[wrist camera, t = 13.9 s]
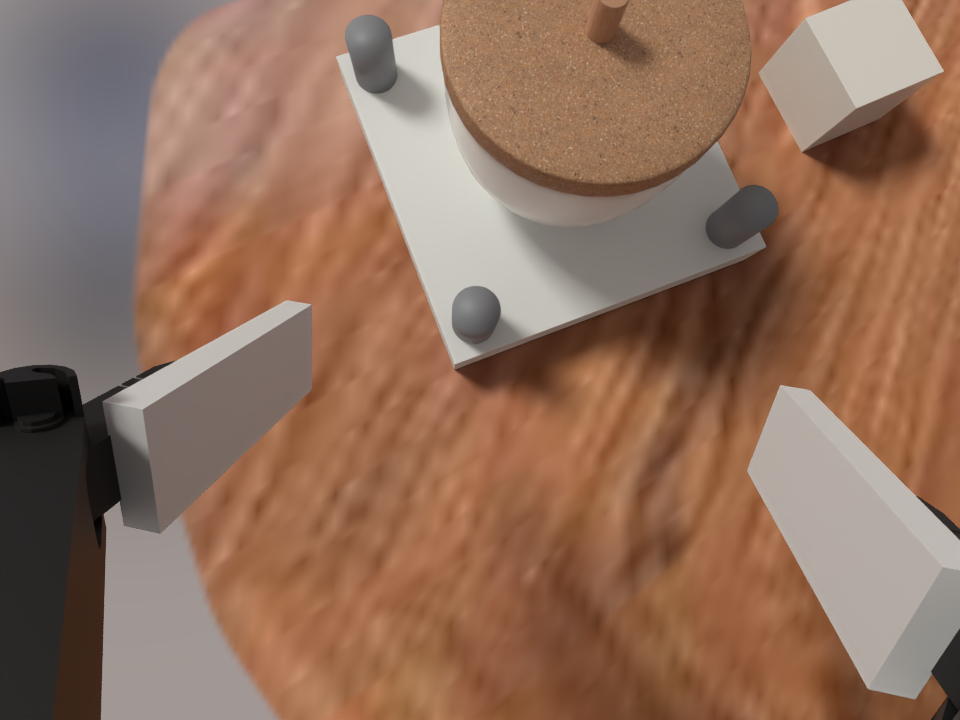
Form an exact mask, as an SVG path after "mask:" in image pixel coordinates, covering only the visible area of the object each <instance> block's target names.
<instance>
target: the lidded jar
mask: <svg viewBox="0 0 960 720" xmlns="http://www.w3.org/2000/svg"><path fill="white" fill-rule="evenodd" d="M440 59H441V65H442V71H443V76H444V88H445V98H446V104H447V109H448V115H449V120H450V124H451V128H452V132H453V135H454V137H455V140H456V143H457V146H458V148H459V151H460V153H461V155H462V158H463V159H464V161H465V163H466V165H467V167H468V168H469V170H470V172H471V174H472V175H473V176H474V178H475V179H476V180H477V181H478V183H479V184H480V185H481V186H482V188H483V189H484V190H485V191H487V192H488V193H489V194H490V195H491V196H492V197H493V198H494V199H495V200H496V201H497V202H498V203H500V204H501V205H503V206H504V207H505V208H507V209H508V210H510V211H511V212H513V213H515V214H517V215H519V216H521V217H523V218H525V219H527V220H530V221H534V222H537V223H540V224H543V225H549V226H556V227H585V226H592V225H599V224H602V223H605V222H609V221H612V220H615V219H617V218H620V217H622V216H624V215H626V214H628V213H630V212H632V211H634V210H636V209H638V208H640V207H642V206H643V205H645V204H646V203H647V202H649V201H650V200H652V199H653V198H654V197H656V196H657V195H658V194H660V193H661V192H663V191H664V190H665V189H667V188H668V187H669V186H670V185H671V184H672V183H673V182H674V181H675V180H676V179H677V178H679V177H680V176H681V175H682V173H683V172H684V171H685V170H687V169H688V168H689V167H691V166H692V165H693V164H695V163H696V162H697V161H698V160H699V159H700V158H701V157H702V156H703V155H704V154H705V153H706V152H707V151H708V150H709V149H710V148H711V147H712V146H713V145H714V144H715V143H716V142H717V141H718V140H719V139H720V138H721V136H722V135H723V134H724V132H725V131H726V129H727V128H728V126H729V125H730V124H731V122H732V121H733V119H734V118H735V116H736V114H737V112H738V109H739V107H740V105H741V103H742V100H743V98H744V96H745V92H746V88H747V84H748V80H749V76H750V65H751V43H750V33H749V27H748V23H747V18H746V14H745V10H744V6H743V4H742V2H741V0H443V5H442V11H441V17H440Z"/></svg>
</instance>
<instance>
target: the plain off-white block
mask: <svg viewBox="0 0 960 720" xmlns="http://www.w3.org/2000/svg"><path fill="white" fill-rule="evenodd" d="M942 72H944V71H943V69H942V67H941V66H940V64H939V62H938V60H937V59H936V57H935V55H934V54H933V52H932V50H931V49H930V47H929V45H928V44H927V42H926V40H925V39H924V37H923V35H922V33H921V32H920V30H919V28H918V27H917V25H916V23H915V22H914V20H913V18H912V17H911V15H910V13H909V12H908V10H907V8H906V6H905V5H904V3H903V1H902V0H850V1H848V2H845V3H843V4H840V5H838V6H835V7H833V8H830V9H828V10H825V11H823V12H820V13H817V14H815V15H812V16H810V17H807V18H805V19H804V20H803V22H802V23H801V24H800V25H799V26H798V27H797V29H796V30H795V31H794V32H793V33H792V34H791V36H790V37H789V38H788V39H787V40H786V41H785V43H784V44H783V45H782V46H781V47H780V48H779V50H778V51H777V52H776V53H775V54H774V55H773V57H772V58H771V59H770V60H769V61H768V62H767V64H766V65H765V66H764V67H763V68H762V69H761V71H760V72H759V75H760V77H761V79H762V81H763V83H764V84H765V86H766V88H767V90H768V92H769V94H770V95H771V97H772V99H773V101H774V103H775V104H776V106H777V108H778V110H779V112H780V114H781V115H782V117H783V119H784V121H785V123H786V124H787V126H788V128H789V130H790V132H791V134H792V135H793V137H794V139H795V141H796V143H797V144H798V146H799V148H800V150H801V152H803V151H806V150H808V149H810V148H813V147H815V146H817V145H820V144H822V143H824V142H827V141H829V140H831V139H834V138H836V137H838V136H841V135H843V134H845V133H848V132H850V131H852V130H855V129H857V128H859V127H862V126H864V125H866V124H869V123H871V122H873V121H876V120H878V119H880V118H881V117H882V116H884V115H885V114H887V113H888V112H889V111H891V110H892V109H893V108H895V107H896V106H897V105H899V104H900V103H902V102H903V101H904V100H906V99H907V98H908V97H910V96H911V95H912V94H914V93H915V92H917V91H918V90H919V89H921V88H922V87H923V86H925V85H926V84H927V83H929V82H930V81H932V80H933V79H934V78H936V77H937V76H938V75H940V74H941V73H942Z"/></svg>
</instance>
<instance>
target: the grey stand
mask: <svg viewBox="0 0 960 720" xmlns="http://www.w3.org/2000/svg"><path fill="white" fill-rule="evenodd" d="M345 39H346V43H347V47H348V51H349V53H346V54H343V55H340V56H336V58H337V61H338V64H339V68H340V71H341V74H342V78H343V81H344V84H345V87H346V89H347V92H348V94H349V97H350V100H351V102H352V105H353V107H354V110H355V113H356V115H357V118H358V120H359V123H360V126H361V128H362V131H363V133H364V136H365V139H366V141H367V144H368V146H369V149H370V152H371V154H372V157H373V160H374V162H375V165H376V167H377V170H378V173H379V175H380V178H381V180H382V183H383V186H384V188H385V191H386V193H387V196H388V199H389V201H390V204H391V206H392V209H393V212H394V214H395V217H396V219H397V222H398V225H399V227H400V230H401V232H402V235H403V238H404V240H405V243H406V245H407V248H408V251H409V253H410V256H411V258H412V261H413V264H414V266H415V269H416V271H417V274H418V277H419V279H420V282H421V284H422V287H423V290H424V292H425V295H426V297H427V300H428V303H429V305H430V308H431V310H432V313H433V316H434V318H435V321H436V323H437V326H438V329H439V331H440V334H441V336H442V339H443V342H444V344H445V347H446V349H447V352H448V355H449V357H450V360H451V362H452V365H453V368H454V370H455V369H458V368H460V367H463V366H465V365H468V364H471V363H473V362H476V361H479V360H481V359H484V358H487V357H489V356H492V355H495V354H497V353H500V352H502V351H505V350H508V349H510V348H513V347H516V346H518V345H521V344H524V343H526V342H529V341H532V340H534V339H537V338H540V337H542V336H545V335H547V334H550V333H553V332H555V331H558V330H561V329H563V328H566V327H569V326H571V325H574V324H577V323H579V322H582V321H584V320H587V319H590V318H592V317H595V316H598V315H600V314H603V313H606V312H608V311H611V310H614V309H616V308H619V307H621V306H624V305H627V304H629V303H632V302H635V301H637V300H640V299H643V298H645V297H648V296H651V295H653V294H656V293H658V292H661V291H664V290H666V289H669V288H672V287H674V286H677V285H680V284H682V283H685V282H688V281H690V280H693V279H695V278H698V277H701V276H703V275H706V274H709V273H711V272H714V271H717V270H719V269H722V268H725V267H727V266H730V265H732V264H735V263H738V262H740V261H743V260H745V259H747V258H748V257H750V256H752V255H753V254H755V253H757V252H759V251H760V250H762V249H764V248H765V247H766V245H765V242H764V240H763V238H762V236H761V234H760V231H762V230H764V229H765V228H767V227H768V226H770V225H771V224H772V223H773V222H774V221H775V219H776V217H777V215H778V203H777V201H776V198H775V197H774V195H773V194H772V193H771V192H770V191H769V190H768V189H766V188H764V187H762V186H758V185H749V186H746V187H744V188H742V189H741V190H740V189H739V187H738V184H737V182H736V180H735V178H734V176H733V174H732V171H731V169H730V167H729V165H728V163H727V161H726V159H725V156H724V154H723V152H722V150H721V148H720V146H719V144H718V141H717V142H716V143H715V144H714V145H713V146H712V147H711V148H710V149H709V150H708V151H707V152H706V153H705V154H704V155H703V156H702V157H701V158H700V159H699V160H698V161H697V162H696V163H695V164H693V165H692V166H691V167H689V168H688V169H687V170H685V171H684V172H683V173H682V175H681V176H680V177H679V178H677V179H676V180H675V181H674V182H673V183H672V184H671V185H670V186H669V187H668V188H667V189H665V190H664V191H663V192H661V193H660V194H658V195H657V196H656V197H654V198H653V199H652V200H650V201H649V202H647V203H646V204H645V205H643V206H642V207H640V208H638V209H636V210H634V211H632V212H630V213H628V214H626V215H624V216H622V217H620V218H617V219H615V220H612V221H609V222H605V223H602V224H599V225H592V226H585V227H556V226H549V225H543V224H540V223H537V222H534V221H530V220H527V219H525V218H523V217H521V216H519V215H517V214H515V213H513V212H511V211H510V210H508V209H507V208H505V207H504V206H503V205H501V204H500V203H498V202H497V201H496V200H495V199H494V198H493V197H492V196H491V195H490V194H489V193H488V192H487V191H485V190H484V189H483V188H482V186H481V185H480V184H479V183H478V181H477V180H476V179H475V178H474V176H473V175H472V174H471V172H470V170H469V168H468V167H467V165H466V163H465V161H464V159H463V158H462V155H461V153H460V151H459V148H458V146H457V143H456V140H455V137H454V135H453V132H452V128H451V124H450V120H449V115H448V109H447V104H446V98H445V88H444V76H443V71H442V65H441V59H440V25H437V26H434V27H431V28H428V29H424V30H421V31H418V32H415V33H411V34H408V35H405V36H402V37H398V38H395V39H392V34H391V30H390V28H389V26H388V24H387V23H386V22H385V21H384V20H382V19H381V18H379V17H377V16H373V15H363V16H359V17H357V18H355V19H354V20H352V21H351V22H350V23H349V25H348V26H347V28H346V32H345Z"/></svg>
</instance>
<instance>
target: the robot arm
mask: <svg viewBox="0 0 960 720" xmlns="http://www.w3.org/2000/svg"><path fill="white" fill-rule="evenodd" d="M311 390H312V305H311V304H305V303H299V302H293V301H288V300H286V301H284V302H283V303H281V304H279V305H277V306H275V307H274V308H272V309H270V310H268V311H266V312H264V313H263V314H261V315H259V316H257V317H255V318H254V319H252V320H250V321H248V322H246V323H244V324H243V325H241V326H239V327H237V328H235V329H233V330H232V331H230V332H228V333H226V334H224V335H223V336H221V337H219V338H217V339H215V340H213V341H212V342H210V343H208V344H206V345H204V346H203V347H201V348H199V349H197V350H195V351H193V352H192V353H190V354H188V355H186V356H184V357H182V358H181V359H179V360H176V361H172V362H169V363H165V364H162V365H158V366H155V367H153V368H151V369H149V370H147V371H145V372H143V373H141V374H140V375H138V376H137V377H136V379H135V378H132V379H130V380H128V381H126V382H125V383H123V384H122V386H121V387H120V386H117V387H115V388H113V389H111V390H110V391H108V392H106V393H104V394H102V395H100V396H98V397H97V398H95V399H93V400H91V401H89V402H87V403H85V404H83V405H82V401H81V395H80V390H79V385H78V379H77V375H76V373H75V371H74V370H72V369H69V368H67V367H64V366H57V365H32V366H25V367H19V368H13V369H10V370H6V371H3V372H0V720H101V690H102V687H101V686H102V656H103V653H102V652H103V621H104V620H103V619H104V587H105V586H104V585H105V553H106V525H105V520H104V515H103V514H104V513H105V512H107V511H108V510H109V509H110V508H111V507H113V506H114V505H115V504H117V503H118V502H119V501H120V505H121V511H122V516H123V522H124V526H128V527H132V528H136V529H141V530H146V531H150V532H155V533H159V534H160V533H161V532H162V531H164V530H165V529H166V528H167V527H168V526H169V525H170V524H171V523H172V522H173V521H174V520H175V519H176V518H177V517H178V516H179V515H180V514H181V513H183V512H184V511H185V510H186V509H187V508H188V507H189V506H190V505H191V504H192V503H193V502H194V501H195V500H196V499H197V498H198V497H199V496H200V495H201V494H202V493H204V492H205V491H206V490H207V489H208V488H209V487H210V486H211V485H212V484H213V483H214V482H215V481H216V480H217V479H218V478H219V477H220V476H221V475H222V474H223V473H225V472H226V471H227V470H228V469H229V468H230V467H231V466H232V465H233V464H234V463H235V462H236V461H237V460H238V459H239V458H240V457H241V456H242V455H243V454H245V453H246V452H247V451H248V450H249V449H250V448H251V447H252V446H253V445H254V444H255V443H256V442H257V441H258V440H259V439H260V438H261V437H262V436H263V435H264V434H266V433H267V432H268V431H269V430H270V429H271V428H272V427H273V426H274V425H275V424H276V423H277V422H278V421H279V420H280V419H281V418H282V417H283V416H284V415H285V414H287V413H288V412H289V411H290V410H291V409H292V408H293V407H294V406H295V405H296V404H297V403H298V402H299V401H300V400H301V399H302V398H303V397H304V396H305V395H306V394H308V393H309V392H310V391H311ZM747 472H748V474H749V475H750V477H751V479H752V481H753V483H754V485H755V486H756V488H757V490H758V492H759V494H760V495H761V497H762V499H763V501H764V503H765V504H766V506H767V508H768V510H769V512H770V513H771V515H772V517H773V519H774V521H775V522H776V524H777V526H778V528H779V530H780V531H781V533H782V535H783V537H784V539H785V540H786V542H787V544H788V546H789V548H790V549H791V551H792V553H793V555H794V557H795V558H796V560H797V562H798V564H799V566H800V567H801V569H802V571H803V573H804V575H805V576H806V578H807V580H808V582H809V584H810V585H811V587H812V589H813V591H814V593H815V595H816V596H817V598H818V600H819V602H820V604H821V605H822V607H823V609H824V611H825V613H826V614H827V616H828V618H829V620H830V622H831V623H832V625H833V627H834V629H835V631H836V632H837V634H838V636H839V638H840V640H841V641H842V643H843V645H844V647H845V649H846V650H847V652H848V654H849V656H850V658H851V659H852V661H853V663H854V665H855V667H856V668H857V670H858V672H859V674H860V676H861V677H862V679H863V681H864V683H865V685H866V686H867V688H868V689H870V690H874V691H879V692H883V693H888V694H893V695H897V696H902V697H906V698H911V699H916V697H917V696H918V694H919V693H920V691H921V690H922V689H923V687H924V686H925V684H926V683H927V681H928V680H929V678H930V677H931V675H932V674H933V675H934V677H935V678H936V680H937V681H938V683H939V684H940V686H941V687H942V688H943V690H944V691H945V693H946V694H947V698H946V699H945V701H944V702H943V703H942V705H941V706H940V708H939V709H938V711H937V712H936V713H935V715H934V716H933V718H932V719H931V720H960V529H959V528H958V527H957V526H956V525H955V524H954V523H953V522H952V521H951V520H950V519H949V518H948V517H947V516H946V515H945V514H943V513H942V512H940V511H939V510H937V509H936V508H934V507H933V506H931V505H930V504H928V503H927V502H925V501H924V500H922V499H921V498H919V497H918V496H915V495H914V494H913V493H912V492H911V491H910V490H909V489H908V488H907V487H906V486H905V485H904V484H903V483H902V482H901V481H900V480H899V479H898V478H897V477H896V476H895V475H894V474H893V473H892V472H891V471H890V470H889V469H888V468H887V467H886V466H885V465H884V464H883V463H882V462H881V461H880V460H879V459H878V458H877V457H876V456H875V455H874V454H873V453H872V452H871V451H870V450H869V449H868V448H867V447H866V446H865V445H864V444H863V443H862V442H861V441H860V440H859V439H858V438H857V437H856V436H855V435H854V434H853V433H852V432H851V431H850V430H849V429H848V428H847V427H846V426H845V425H844V424H843V423H842V422H841V421H840V420H839V419H838V418H837V417H836V416H835V415H834V414H833V413H832V412H831V411H830V410H829V409H828V408H827V407H826V406H825V405H824V404H823V403H822V402H821V401H820V400H819V399H818V398H817V397H816V396H815V395H814V394H813V393H812V392H811V391H810V390H806V389H800V388H794V387H789V386H783V385H780V387H779V390H778V392H777V395H776V398H775V400H774V403H773V405H772V408H771V410H770V413H769V416H768V418H767V421H766V423H765V426H764V428H763V431H762V434H761V436H760V439H759V441H758V444H757V447H756V449H755V452H754V454H753V457H752V459H751V462H750V465H749V467H748V470H747Z"/></svg>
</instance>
